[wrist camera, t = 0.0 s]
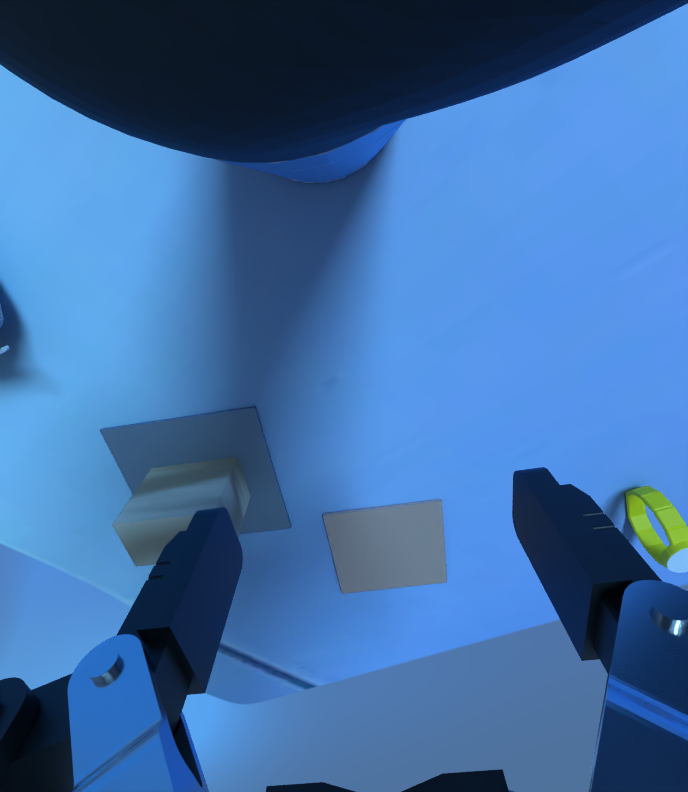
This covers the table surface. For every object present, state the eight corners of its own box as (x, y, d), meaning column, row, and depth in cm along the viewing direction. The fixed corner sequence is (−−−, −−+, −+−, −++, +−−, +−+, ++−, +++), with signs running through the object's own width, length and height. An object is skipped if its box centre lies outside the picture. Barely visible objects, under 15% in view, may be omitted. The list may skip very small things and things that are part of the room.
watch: (650, 518, 35) (705, 581, 29) (617, 527, 35) (665, 590, 30) (651, 470, 32) (712, 530, 27) (615, 480, 32) (668, 541, 27)
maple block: (151, 468, 32) (112, 524, 26) (236, 456, 31) (214, 512, 26) (169, 506, 33) (136, 566, 28) (250, 496, 33) (232, 555, 27)
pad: (322, 513, 34) (322, 516, 34) (441, 499, 33) (441, 501, 33) (342, 590, 38) (342, 593, 38) (446, 579, 38) (447, 582, 37)
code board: (100, 428, 30) (99, 430, 30) (255, 406, 29) (254, 407, 29) (159, 542, 35) (158, 543, 35) (291, 526, 35) (290, 528, 34)
